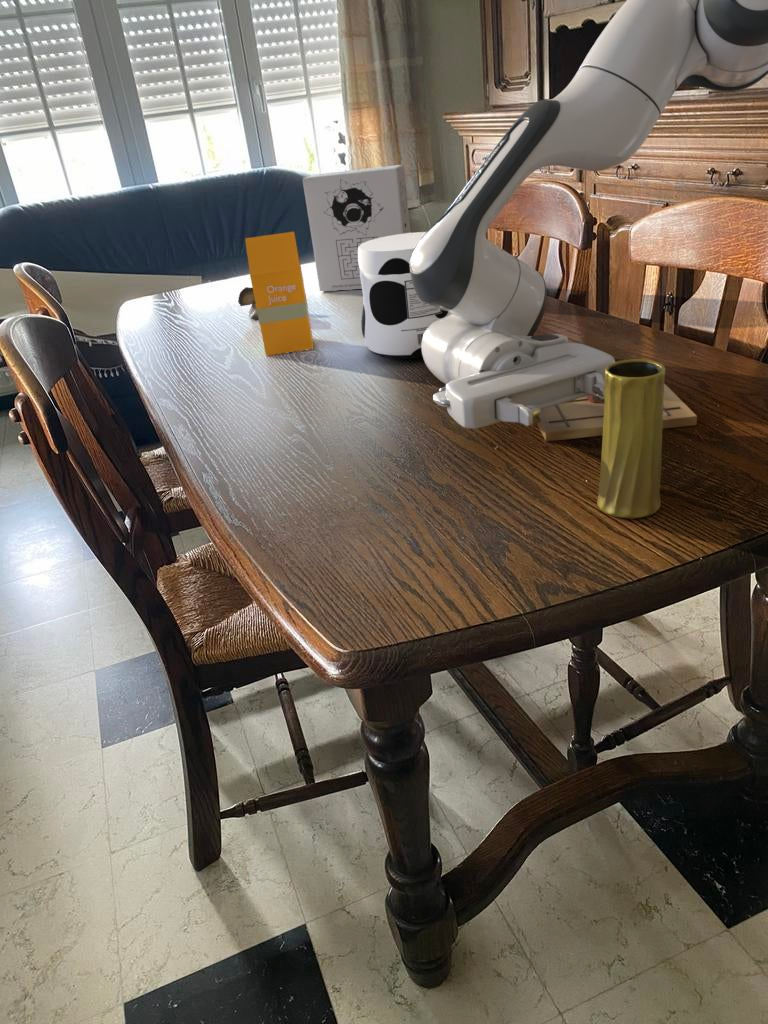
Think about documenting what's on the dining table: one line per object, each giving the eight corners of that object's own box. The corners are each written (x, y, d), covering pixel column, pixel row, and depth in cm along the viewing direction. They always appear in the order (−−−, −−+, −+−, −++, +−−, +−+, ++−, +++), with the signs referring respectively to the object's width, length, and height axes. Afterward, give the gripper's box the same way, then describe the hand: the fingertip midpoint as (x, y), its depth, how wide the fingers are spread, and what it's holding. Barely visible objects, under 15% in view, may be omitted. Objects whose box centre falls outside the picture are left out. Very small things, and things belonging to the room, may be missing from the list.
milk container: (402, 332, 139) (391, 230, 130) (484, 338, 130) (478, 229, 121) (345, 361, 127) (329, 252, 119) (430, 371, 118) (419, 253, 109)
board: (649, 376, 105) (649, 367, 104) (696, 425, 89) (697, 415, 89) (520, 390, 106) (520, 381, 105) (545, 441, 90) (545, 431, 90)
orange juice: (267, 344, 143) (245, 235, 133) (313, 338, 143) (295, 228, 133) (265, 356, 136) (242, 242, 126) (313, 349, 136) (294, 234, 126)
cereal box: (415, 279, 178) (404, 164, 165) (408, 286, 171) (397, 168, 159) (328, 285, 183) (312, 174, 171) (319, 292, 177) (301, 178, 165)
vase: (588, 494, 78) (591, 362, 71) (647, 486, 78) (655, 354, 71) (608, 523, 72) (613, 383, 66) (670, 514, 72) (682, 374, 66)
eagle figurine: (236, 308, 167) (231, 310, 159) (249, 278, 166) (244, 278, 157) (268, 323, 169) (264, 326, 160) (280, 293, 167) (277, 295, 158)
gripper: (423, 369, 86) (485, 402, 75) (571, 330, 92) (649, 355, 81) (428, 419, 89) (489, 459, 78) (571, 378, 95) (646, 410, 84)
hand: (572, 406), depth 79 cm, fingers open, 8 cm apart
